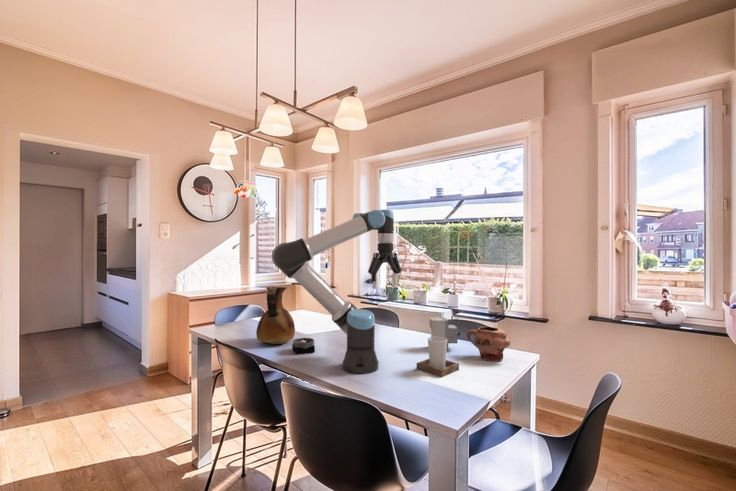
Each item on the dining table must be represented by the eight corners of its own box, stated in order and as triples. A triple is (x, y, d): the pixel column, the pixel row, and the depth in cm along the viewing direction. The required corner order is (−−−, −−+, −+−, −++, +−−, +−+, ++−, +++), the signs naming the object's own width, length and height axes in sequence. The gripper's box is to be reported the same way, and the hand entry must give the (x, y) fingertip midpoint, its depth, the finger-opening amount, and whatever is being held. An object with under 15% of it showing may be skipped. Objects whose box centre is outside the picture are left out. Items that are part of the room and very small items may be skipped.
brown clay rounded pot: (461, 357, 161) (462, 327, 161) (470, 351, 171) (470, 322, 171) (507, 365, 150) (507, 333, 150) (513, 358, 160) (513, 328, 160)
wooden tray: (441, 377, 136) (441, 370, 136) (416, 369, 145) (416, 363, 145) (458, 369, 144) (458, 363, 144) (434, 362, 153) (434, 356, 153)
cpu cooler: (310, 336, 176) (316, 341, 167) (310, 347, 176) (316, 353, 167) (290, 338, 171) (295, 343, 162) (290, 350, 171) (295, 356, 162)
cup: (424, 366, 147) (424, 337, 147) (440, 363, 150) (440, 335, 150) (434, 372, 139) (434, 342, 139) (451, 369, 142) (451, 340, 142)
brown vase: (297, 337, 195) (297, 284, 195) (291, 347, 175) (292, 288, 175) (261, 338, 194) (262, 284, 194) (252, 348, 174) (252, 288, 174)
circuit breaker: (460, 351, 171) (460, 320, 171) (431, 350, 171) (431, 320, 171) (457, 346, 178) (457, 317, 179) (429, 346, 179) (429, 317, 179)
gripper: (397, 243, 176) (396, 285, 175) (360, 242, 158) (360, 288, 158) (408, 243, 170) (408, 286, 170) (372, 242, 153) (371, 290, 153)
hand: (385, 287), depth 164 cm, fingers open, 13 cm apart
